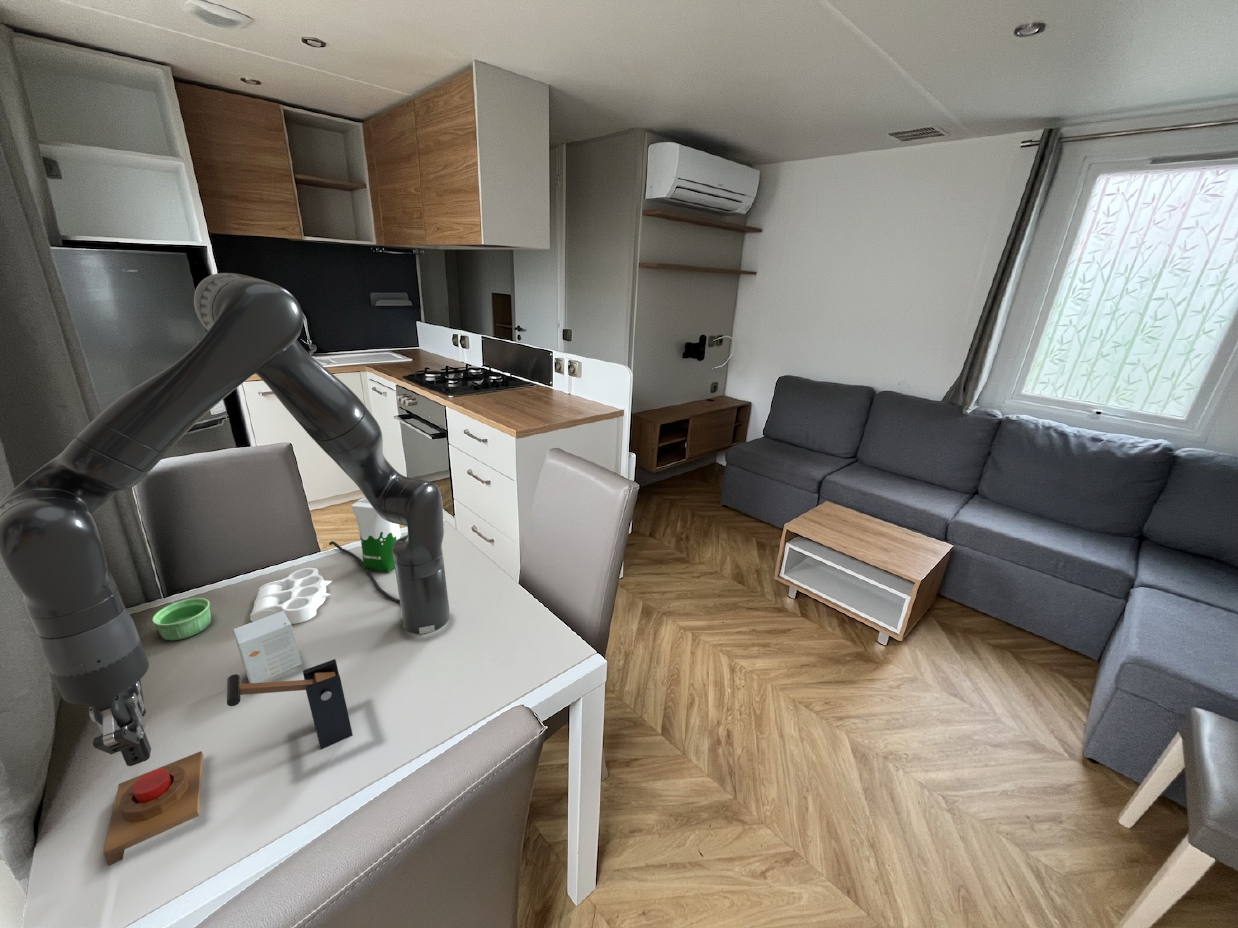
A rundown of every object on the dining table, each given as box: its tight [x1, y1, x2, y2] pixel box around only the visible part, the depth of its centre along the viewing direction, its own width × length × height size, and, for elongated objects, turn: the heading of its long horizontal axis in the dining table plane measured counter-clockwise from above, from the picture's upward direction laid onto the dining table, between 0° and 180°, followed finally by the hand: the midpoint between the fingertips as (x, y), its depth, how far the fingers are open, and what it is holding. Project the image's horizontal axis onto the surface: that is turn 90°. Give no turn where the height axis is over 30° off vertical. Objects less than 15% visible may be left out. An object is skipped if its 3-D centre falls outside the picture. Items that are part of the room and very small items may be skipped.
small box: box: [232, 611, 303, 683], centre depth 89 cm, size 8×6×10 cm
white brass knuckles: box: [249, 567, 333, 625], centre depth 111 cm, size 3×18×15 cm
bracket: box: [302, 658, 354, 750], centre depth 76 cm, size 11×9×13 cm
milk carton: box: [350, 496, 402, 573], centre depth 124 cm, size 9×9×20 cm
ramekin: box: [151, 597, 212, 641], centre depth 101 cm, size 9×9×4 cm
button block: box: [102, 750, 204, 866], centre depth 67 cm, size 11×9×4 cm
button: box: [132, 768, 172, 803], centre depth 66 cm, size 4×4×2 cm
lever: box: [226, 672, 336, 707], centre depth 71 cm, size 13×5×2 cm, turn 125°
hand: (140, 758), depth 64 cm, fingers closed
